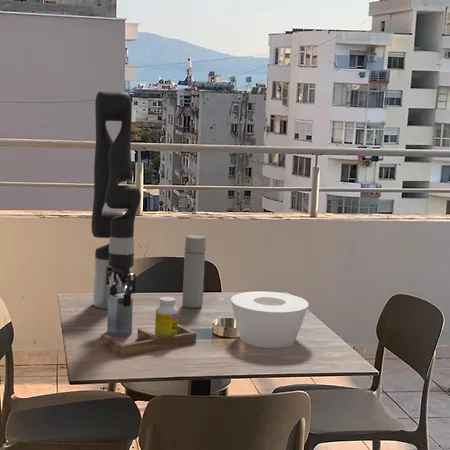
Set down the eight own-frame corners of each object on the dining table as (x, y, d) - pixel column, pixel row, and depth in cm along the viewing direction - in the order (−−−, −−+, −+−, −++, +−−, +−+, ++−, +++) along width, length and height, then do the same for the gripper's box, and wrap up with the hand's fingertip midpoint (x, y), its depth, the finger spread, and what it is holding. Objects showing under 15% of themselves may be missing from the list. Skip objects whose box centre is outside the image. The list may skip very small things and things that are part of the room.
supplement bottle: (173, 344, 215) (175, 302, 213) (151, 342, 216) (153, 300, 214) (179, 337, 222) (181, 297, 220) (158, 335, 223) (159, 294, 221)
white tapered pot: (217, 343, 218) (219, 305, 216) (243, 323, 240) (245, 287, 239) (295, 356, 210) (297, 316, 208) (314, 334, 233) (316, 297, 231)
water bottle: (203, 309, 254) (206, 239, 250) (180, 308, 254) (183, 238, 250) (204, 302, 263) (207, 234, 259) (182, 301, 263) (185, 233, 259)
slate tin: (107, 331, 224) (108, 294, 223) (122, 328, 228) (123, 292, 226) (115, 336, 220) (116, 299, 218) (131, 333, 223) (132, 297, 222)
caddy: (101, 344, 212) (101, 334, 211) (174, 331, 227) (174, 322, 227) (121, 356, 203) (121, 346, 202) (196, 342, 218) (196, 332, 218)
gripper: (99, 248, 223) (98, 299, 225) (122, 256, 212) (120, 310, 214) (120, 246, 228) (119, 296, 230) (144, 254, 217) (142, 307, 219)
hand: (119, 303), depth 222 cm, fingers open, 8 cm apart
